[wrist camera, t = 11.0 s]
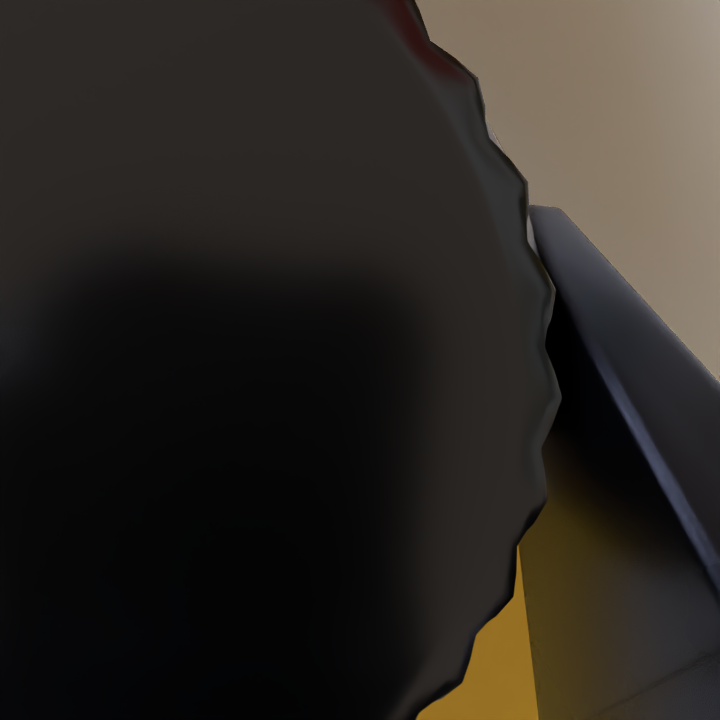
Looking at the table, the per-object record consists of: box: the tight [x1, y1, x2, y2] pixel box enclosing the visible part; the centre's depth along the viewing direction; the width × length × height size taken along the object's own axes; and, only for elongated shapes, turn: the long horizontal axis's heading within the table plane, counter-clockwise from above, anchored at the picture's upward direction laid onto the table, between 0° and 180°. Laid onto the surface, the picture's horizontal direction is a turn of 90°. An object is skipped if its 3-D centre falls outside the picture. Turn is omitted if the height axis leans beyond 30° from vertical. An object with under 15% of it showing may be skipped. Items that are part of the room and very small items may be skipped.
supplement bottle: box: [0, 0, 562, 720], centre depth 9 cm, size 7×7×12 cm
